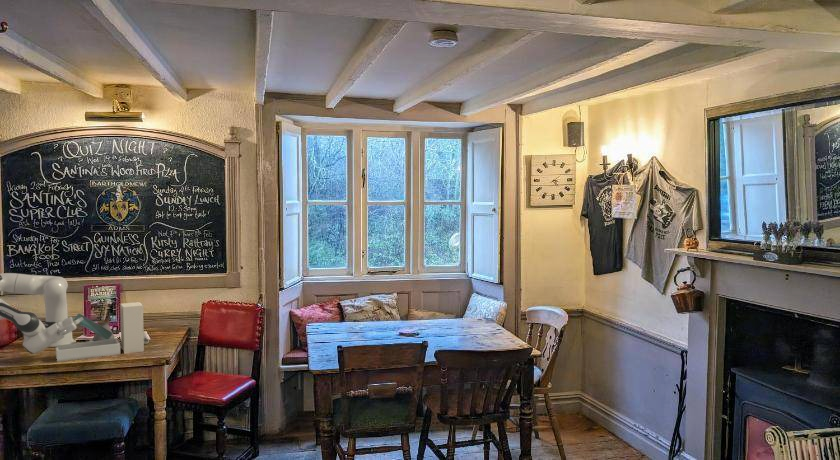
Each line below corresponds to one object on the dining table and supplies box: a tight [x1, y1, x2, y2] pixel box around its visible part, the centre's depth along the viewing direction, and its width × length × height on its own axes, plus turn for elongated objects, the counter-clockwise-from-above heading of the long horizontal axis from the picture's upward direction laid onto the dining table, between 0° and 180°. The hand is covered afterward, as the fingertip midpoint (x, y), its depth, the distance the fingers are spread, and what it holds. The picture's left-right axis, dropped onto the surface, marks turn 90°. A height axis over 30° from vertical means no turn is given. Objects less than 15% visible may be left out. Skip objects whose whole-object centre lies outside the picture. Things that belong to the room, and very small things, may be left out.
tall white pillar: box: [119, 301, 145, 354], centre depth 345 cm, size 12×10×26 cm
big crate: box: [55, 338, 121, 363], centre depth 333 cm, size 13×30×6 cm, turn 123°
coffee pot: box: [92, 312, 116, 341], centre depth 365 cm, size 21×12×15 cm, turn 12°
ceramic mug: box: [144, 331, 150, 345], centre depth 360 cm, size 11×8×8 cm
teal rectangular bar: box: [74, 312, 113, 340], centre depth 334 cm, size 4×20×4 cm
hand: (82, 316), depth 331 cm, fingers closed on teal rectangular bar, 4 cm apart
